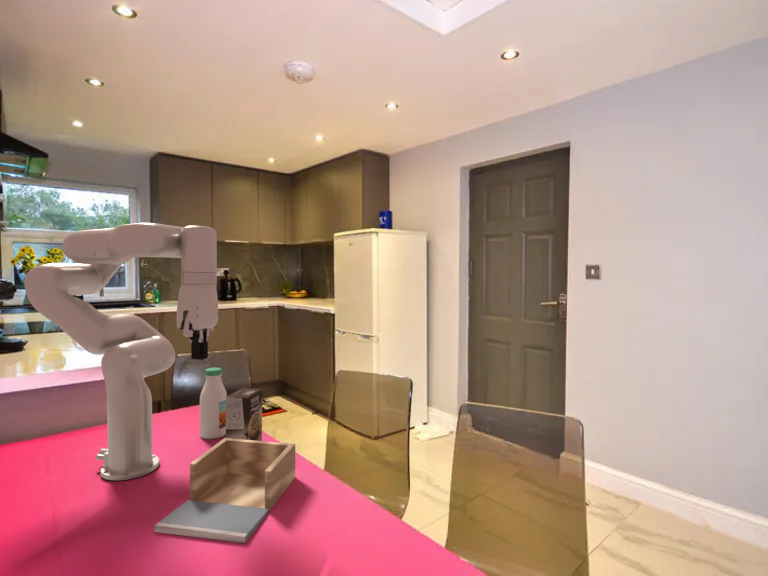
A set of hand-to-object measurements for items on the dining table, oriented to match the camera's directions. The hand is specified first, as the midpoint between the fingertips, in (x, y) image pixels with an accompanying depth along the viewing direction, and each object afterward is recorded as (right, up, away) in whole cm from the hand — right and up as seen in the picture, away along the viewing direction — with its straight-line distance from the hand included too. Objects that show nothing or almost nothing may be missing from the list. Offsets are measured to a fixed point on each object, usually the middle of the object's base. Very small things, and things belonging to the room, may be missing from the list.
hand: (199, 358), depth 100 cm
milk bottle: (-8, -28, +29) cm, 41 cm away
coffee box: (+4, -29, +19) cm, 34 cm away
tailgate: (+11, -29, -12) cm, 33 cm away
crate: (+12, -30, -4) cm, 32 cm away
